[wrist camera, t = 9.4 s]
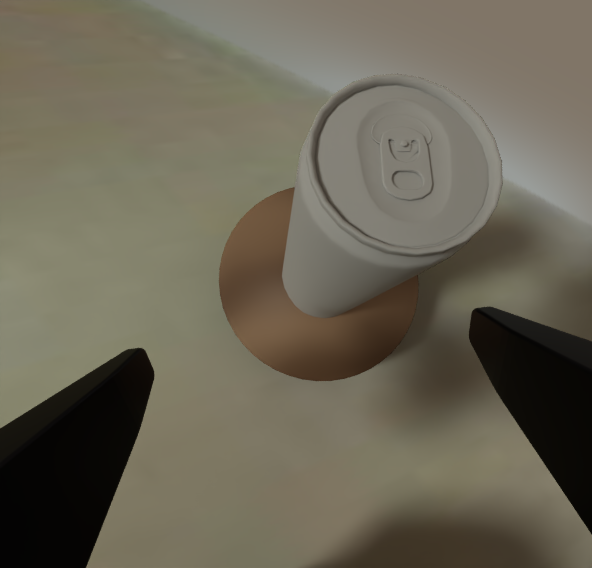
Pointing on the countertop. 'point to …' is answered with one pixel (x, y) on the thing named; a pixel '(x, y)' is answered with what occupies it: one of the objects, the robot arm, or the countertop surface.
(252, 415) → the countertop surface
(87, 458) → the robot arm
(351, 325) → the disc
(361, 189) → the beverage can
